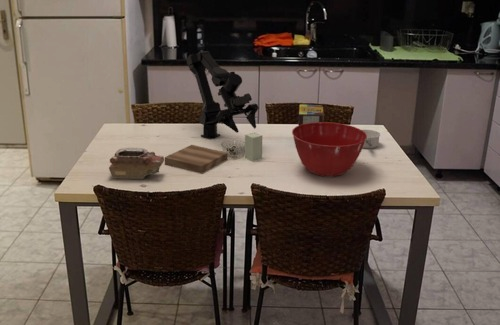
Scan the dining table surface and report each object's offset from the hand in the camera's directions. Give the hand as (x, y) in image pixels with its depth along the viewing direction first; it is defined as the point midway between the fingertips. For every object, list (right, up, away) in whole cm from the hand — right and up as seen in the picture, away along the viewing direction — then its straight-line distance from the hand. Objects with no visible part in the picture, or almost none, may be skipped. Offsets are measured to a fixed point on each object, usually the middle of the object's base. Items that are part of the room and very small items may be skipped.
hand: (246, 130), depth 239 cm
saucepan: (+52, -7, +14) cm, 54 cm away
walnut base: (-20, -13, -4) cm, 24 cm away
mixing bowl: (+31, -16, -11) cm, 37 cm away
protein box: (+28, -5, +20) cm, 34 cm away
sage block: (+3, -11, +1) cm, 12 cm away
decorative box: (-41, -18, -18) cm, 48 cm away
